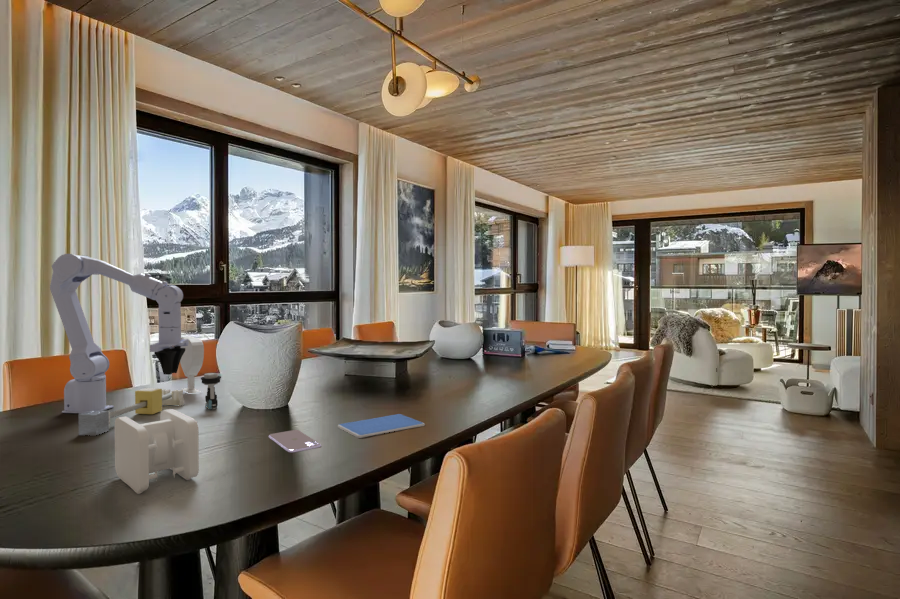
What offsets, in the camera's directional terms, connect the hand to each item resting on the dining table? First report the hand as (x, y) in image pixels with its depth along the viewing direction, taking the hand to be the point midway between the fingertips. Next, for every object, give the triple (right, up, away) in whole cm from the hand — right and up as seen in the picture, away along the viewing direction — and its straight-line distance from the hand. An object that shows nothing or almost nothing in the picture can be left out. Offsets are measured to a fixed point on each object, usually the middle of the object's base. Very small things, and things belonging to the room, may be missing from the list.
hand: (170, 373), depth 149 cm
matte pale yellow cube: (-2, -10, -6) cm, 12 cm away
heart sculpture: (-5, -9, +22) cm, 25 cm away
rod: (-3, -8, -10) cm, 13 cm away
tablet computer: (+64, -12, -17) cm, 67 cm away
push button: (+12, -10, 0) cm, 16 cm away
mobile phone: (+45, -12, -30) cm, 56 cm away
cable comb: (-1, -10, +3) cm, 10 cm away
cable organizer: (+27, -12, -53) cm, 61 cm away
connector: (-4, -11, -25) cm, 28 cm away
